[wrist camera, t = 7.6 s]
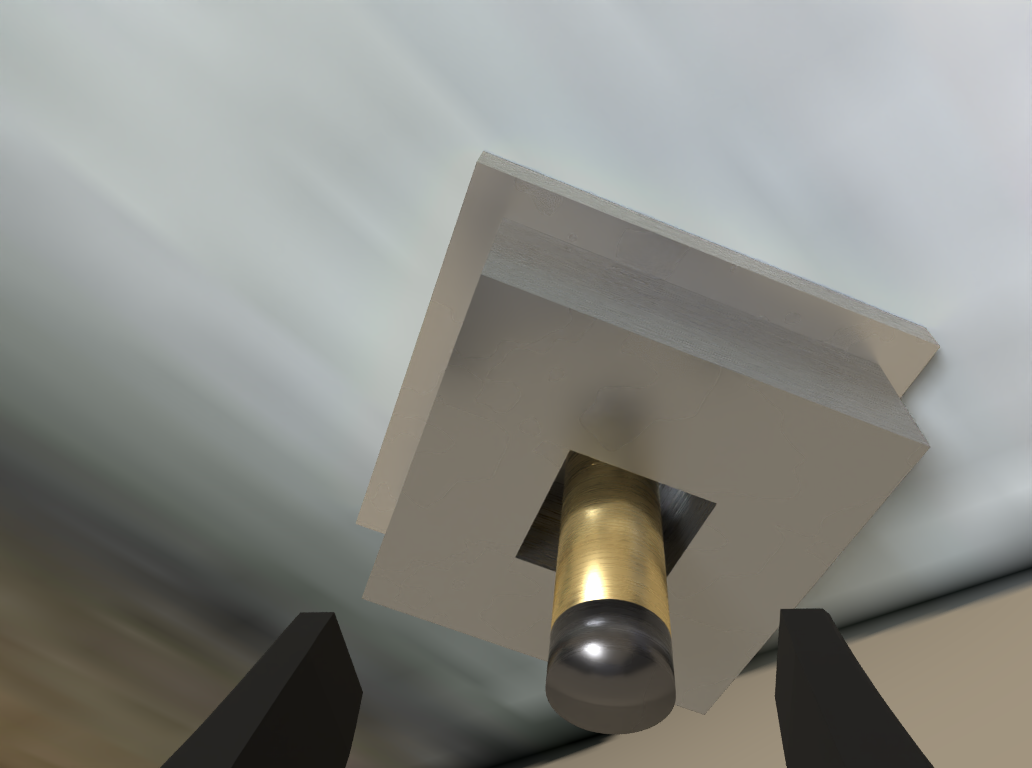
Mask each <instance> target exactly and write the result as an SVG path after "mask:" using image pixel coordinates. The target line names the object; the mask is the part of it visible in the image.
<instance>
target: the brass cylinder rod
mask: <svg viewBox="0 0 1032 768" xmlns="http://www.w3.org/2000/svg"><path fill="white" fill-rule="evenodd" d="M546 696H547V698H548V701H549V703H550V705H551V706H552V708H553V709H554V710H555V711H556V712H557V713H558V714H559V715H560V716H561V717H562V718H564V719H565V720H567V721H568V722H570V723H572V724H574V725H576V726H578V727H580V728H583V729H586V730H589V731H593V732H598V733H605V734H627V733H634V732H639V731H642V730H645V729H648V728H650V727H652V726H655V725H656V724H658V723H659V722H661V721H662V720H663V719H665V718H666V717H667V716H668V715H669V714H670V712H671V711H672V709H673V707H674V704H675V700H676V687H675V675H674V663H673V651H672V639H671V627H670V615H669V603H668V590H667V578H666V566H665V554H664V542H663V530H662V518H661V506H660V494H659V482H657V481H654V480H651V479H649V478H646V477H643V476H640V475H638V474H635V473H632V472H629V471H627V470H624V469H621V468H619V467H616V466H613V465H610V464H608V463H605V462H602V461H599V460H597V459H594V458H591V457H589V456H586V455H583V454H580V453H578V452H575V451H572V450H570V451H569V453H568V455H567V457H566V467H565V478H564V489H563V500H562V511H561V522H560V533H559V544H558V555H557V566H556V577H555V588H554V600H553V611H552V622H551V633H550V644H549V655H548V666H547V677H546Z"/></svg>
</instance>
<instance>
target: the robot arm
mask: <svg viewBox="0 0 1032 768" xmlns="http://www.w3.org/2000/svg"><path fill="white" fill-rule="evenodd" d="M362 694H363V691H362V688H361V686H360V683H359V680H358V677H357V674H356V672H355V669H354V666H353V663H352V660H351V658H350V655H349V652H348V649H347V647H346V644H345V641H344V638H343V635H342V633H341V630H340V627H339V624H338V621H337V619H336V616H335V613H334V612H311V613H300V614H299V615H298V616H297V617H296V618H295V619H294V620H293V621H292V623H291V624H290V625H289V626H288V627H287V628H286V629H285V630H284V632H283V633H282V634H281V635H280V636H279V637H278V638H277V640H276V641H275V642H274V643H273V644H272V645H271V647H270V648H269V649H268V650H267V651H266V652H265V654H264V655H263V656H262V657H261V658H260V659H259V660H258V662H257V663H256V664H255V665H254V666H253V667H252V669H251V670H250V671H249V672H248V673H247V674H246V675H245V677H244V678H243V679H242V680H241V681H240V682H239V683H238V685H237V686H236V687H235V688H234V689H233V690H232V691H231V692H230V694H229V695H228V696H227V697H226V698H225V699H224V700H223V701H222V702H221V704H220V705H219V706H218V707H217V708H216V709H215V710H214V711H213V712H212V714H211V715H210V716H209V717H208V718H207V719H206V720H205V721H204V722H203V724H202V725H201V726H200V727H199V728H198V729H197V730H196V731H195V732H194V733H193V734H192V735H191V736H190V737H189V738H188V739H187V741H186V742H185V743H184V744H183V745H182V746H181V747H180V748H179V749H178V750H177V751H176V752H175V753H174V754H173V755H172V756H171V757H170V758H169V759H168V760H167V761H166V762H165V763H164V764H163V765H162V766H161V767H160V768H345V767H346V764H347V761H348V757H349V754H350V750H351V746H352V741H353V737H354V733H355V728H356V724H357V719H358V714H359V709H360V704H361V699H362ZM775 700H776V706H777V712H778V719H779V724H780V730H781V736H782V743H783V749H784V754H785V760H786V766H787V768H934V767H933V765H932V764H931V763H930V762H929V760H928V759H927V758H926V756H925V755H924V754H923V753H922V751H921V750H920V749H919V747H918V746H917V745H916V743H915V742H914V741H913V739H912V738H911V737H910V735H909V734H908V732H907V731H906V730H905V728H904V727H903V726H902V724H901V723H900V722H899V720H898V719H897V718H896V716H895V715H894V713H893V712H892V711H891V709H890V708H889V707H888V705H887V704H886V702H885V701H884V699H883V698H882V697H881V695H880V694H879V692H878V691H877V689H876V688H875V686H874V685H873V683H872V682H871V681H870V679H869V677H868V676H867V674H866V673H865V671H864V670H863V668H862V667H861V665H860V664H859V662H858V661H857V659H856V658H855V656H854V655H853V653H852V651H851V650H850V648H849V647H848V645H847V643H846V642H845V640H844V638H843V637H842V635H841V633H840V632H839V630H838V628H837V627H836V625H835V623H834V622H833V620H832V618H831V616H830V614H829V613H827V612H826V611H825V610H824V609H780V622H779V638H778V655H777V671H776V688H775Z"/></svg>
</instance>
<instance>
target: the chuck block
mask: <svg viewBox="0 0 1032 768" xmlns="http://www.w3.org/2000/svg"><path fill="white" fill-rule="evenodd" d="M939 348H940V345H939V344H938V343H937V342H936V340H935V339H934V338H933V337H932V335H931V334H930V333H929V332H928V330H927V329H926V328H924V327H922V326H919V325H917V324H914V323H912V322H909V321H907V320H904V319H902V318H899V317H897V316H894V315H892V314H889V313H887V312H884V311H882V310H879V309H877V308H874V307H872V306H869V305H867V304H864V303H862V302H859V301H857V300H854V299H852V298H849V297H847V296H844V295H842V294H839V293H837V292H834V291H832V290H829V289H827V288H824V287H822V286H819V285H817V284H814V283H812V282H809V281H807V280H804V279H802V278H799V277H797V276H794V275H792V274H789V273H787V272H784V271H782V270H779V269H777V268H774V267H772V266H769V265H767V264H764V263H762V262H759V261H757V260H754V259H752V258H749V257H747V256H744V255H742V254H739V253H737V252H734V251H732V250H729V249H727V248H724V247H722V246H719V245H717V244H714V243H712V242H709V241H707V240H704V239H702V238H699V237H697V236H694V235H692V234H689V233H687V232H684V231H682V230H679V229H677V228H674V227H672V226H669V225H667V224H664V223H662V222H659V221H657V220H654V219H652V218H649V217H647V216H644V215H642V214H639V213H637V212H634V211H632V210H629V209H627V208H624V207H622V206H619V205H617V204H614V203H612V202H609V201H607V200H604V199H602V198H599V197H597V196H594V195H592V194H589V193H587V192H584V191H582V190H579V189H577V188H574V187H572V186H569V185H567V184H564V183H562V182H559V181H557V180H554V179H552V178H549V177H547V176H544V175H542V174H539V173H537V172H534V171H532V170H529V169H527V168H524V167H522V166H519V165H517V164H514V163H512V162H509V161H507V160H504V159H502V158H499V157H497V156H494V155H492V154H489V153H487V152H484V151H483V152H482V154H481V156H480V157H479V159H478V161H477V163H476V166H475V169H474V172H473V175H472V178H471V181H470V184H469V187H468V190H467V193H466V196H465V199H464V202H463V205H462V208H461V211H460V214H459V217H458V220H457V222H456V225H455V228H454V231H453V234H452V237H451V240H450V243H449V246H448V249H447V252H446V255H445V258H444V261H443V264H442V267H441V270H440V273H439V276H438V279H437V282H436V285H435V288H434V291H433V294H432V297H431V300H430V303H429V306H428V309H427V312H426V315H425V318H424V321H423V324H422V327H421V330H420V333H419V336H418V339H417V342H416V345H415V348H414V351H413V354H412V357H411V360H410V363H409V366H408V369H407V372H406V375H405V378H404V381H403V384H402V387H401V390H400V393H399V396H398V399H397V402H396V405H395V408H394V411H393V414H392V417H391V420H390V423H389V426H388V429H387V432H386V435H385V438H384V441H383V444H382V447H381V450H380V453H379V456H378V459H377V462H376V465H375V468H374V471H373V474H372V477H371V480H370V483H369V486H368V489H367V492H366V495H365V497H364V500H363V503H362V506H361V509H360V512H359V515H358V518H357V521H356V524H358V525H361V526H364V527H366V528H369V529H372V530H375V531H378V532H381V533H384V534H385V536H384V539H383V542H382V544H381V547H380V550H379V552H378V555H377V558H376V561H375V563H374V566H373V569H372V572H371V574H370V577H369V580H368V582H367V585H366V588H365V591H364V593H363V596H362V599H365V600H368V601H371V602H374V603H376V604H379V605H382V606H385V607H388V608H391V609H394V610H397V611H400V612H403V613H406V614H409V615H412V616H415V617H418V618H421V619H424V620H427V621H430V622H432V623H435V624H438V625H441V626H444V627H447V628H450V629H453V630H456V631H459V632H462V633H465V634H468V635H471V636H474V637H477V638H480V639H483V640H485V641H488V642H491V643H494V644H497V645H500V646H503V647H506V648H509V649H512V650H515V651H518V652H521V653H524V654H527V655H530V656H533V657H536V658H539V659H541V660H544V661H547V662H548V655H549V644H550V633H551V622H552V611H553V600H554V588H555V577H556V566H557V555H558V544H559V533H560V522H561V511H562V500H563V489H564V478H565V467H566V457H567V455H568V453H569V451H570V450H572V451H575V452H578V453H580V454H583V455H586V456H589V457H591V458H594V459H597V460H599V461H602V462H605V463H608V464H610V465H613V466H616V467H619V468H621V469H624V470H627V471H629V472H632V473H635V474H638V475H640V476H643V477H646V478H649V479H651V480H654V481H657V482H659V494H660V506H661V518H662V530H663V542H664V554H665V566H666V578H667V590H668V603H669V615H670V627H671V639H672V651H673V663H674V675H675V687H676V700H675V704H674V705H677V706H680V707H683V708H686V709H689V710H692V711H695V712H698V713H701V714H704V715H705V714H706V713H707V711H708V710H709V709H710V708H711V707H712V705H713V704H714V703H715V702H716V701H717V699H718V698H719V697H720V696H721V695H722V694H723V692H724V691H725V690H726V689H727V688H728V686H729V685H730V684H731V683H732V682H733V681H734V679H735V678H736V677H737V676H738V675H739V673H740V672H741V671H742V670H743V669H744V667H745V666H746V665H747V664H748V663H749V662H750V660H751V659H752V658H753V657H754V656H755V654H756V653H757V652H758V651H759V650H760V648H761V647H762V646H763V645H764V644H765V643H766V641H767V640H768V639H769V638H770V637H771V635H772V634H773V633H774V632H775V631H776V629H777V628H778V627H779V622H780V609H794V608H795V607H796V606H797V605H798V603H799V602H800V601H801V600H802V599H803V597H804V596H805V595H806V594H807V593H808V592H809V590H810V589H811V588H812V587H813V586H814V584H815V583H816V582H817V581H818V580H819V578H820V577H821V576H822V575H823V574H824V573H825V571H826V570H827V569H828V568H829V567H830V565H831V564H832V563H833V562H834V561H835V559H836V558H837V557H838V556H839V555H840V554H841V552H842V551H843V550H844V549H845V548H846V546H847V545H848V544H849V543H850V542H851V540H852V539H853V538H854V537H855V536H856V535H857V533H858V532H859V531H860V530H861V529H862V527H863V526H864V525H865V524H866V523H867V521H868V520H869V519H870V518H871V517H872V516H873V514H874V513H875V512H876V511H877V510H878V508H879V507H880V506H881V505H882V504H883V502H884V501H885V500H886V499H887V498H888V497H889V495H890V494H891V493H892V492H893V491H894V489H895V488H896V487H897V486H898V485H899V483H900V482H901V481H902V480H903V479H904V478H905V476H906V475H907V474H908V473H909V472H910V470H911V469H912V468H913V467H914V466H915V465H916V463H917V462H918V461H919V460H920V459H921V457H922V456H923V455H924V454H925V453H926V451H927V450H928V449H929V448H930V446H929V444H928V442H927V441H926V439H925V438H924V436H923V434H922V433H921V431H920V429H919V428H918V426H917V425H916V423H915V421H914V420H913V418H912V417H911V415H910V413H909V412H908V410H907V409H906V407H905V405H904V404H903V402H902V401H901V399H900V398H901V396H902V395H903V394H904V392H905V391H906V390H907V389H908V387H909V386H910V385H911V384H912V382H913V381H914V380H915V378H916V377H917V376H918V375H919V373H920V372H921V371H922V369H923V368H924V367H925V366H926V364H927V363H928V362H929V360H930V359H931V358H932V357H933V355H934V354H935V353H936V351H937V350H938V349H939Z"/></svg>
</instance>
